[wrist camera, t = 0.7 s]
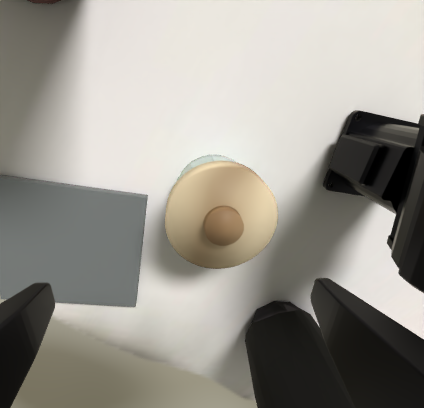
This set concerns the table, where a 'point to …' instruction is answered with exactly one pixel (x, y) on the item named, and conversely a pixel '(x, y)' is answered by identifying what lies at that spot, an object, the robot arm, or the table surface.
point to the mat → (71, 241)
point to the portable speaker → (292, 361)
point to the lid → (220, 215)
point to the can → (44, 1)
